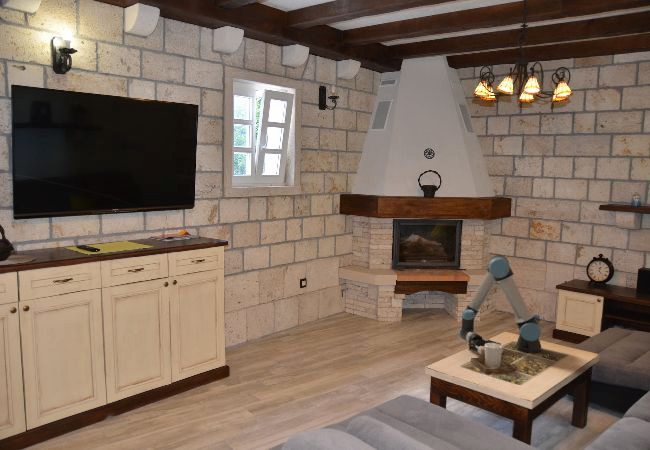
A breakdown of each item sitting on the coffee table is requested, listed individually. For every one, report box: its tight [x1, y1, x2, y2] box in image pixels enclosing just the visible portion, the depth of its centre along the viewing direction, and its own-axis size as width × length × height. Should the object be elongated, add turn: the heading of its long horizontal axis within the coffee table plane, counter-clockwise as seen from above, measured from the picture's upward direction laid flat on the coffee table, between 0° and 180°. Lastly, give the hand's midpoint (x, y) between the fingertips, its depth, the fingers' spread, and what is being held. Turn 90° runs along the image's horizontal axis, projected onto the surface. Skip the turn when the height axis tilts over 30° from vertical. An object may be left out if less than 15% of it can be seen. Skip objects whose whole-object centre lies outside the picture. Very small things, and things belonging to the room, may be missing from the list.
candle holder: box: [483, 342, 503, 368], centre depth 302 cm, size 10×10×12 cm
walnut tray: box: [470, 356, 516, 375], centre depth 302 cm, size 18×18×3 cm
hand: (491, 350), depth 303 cm, fingers open, 13 cm apart
